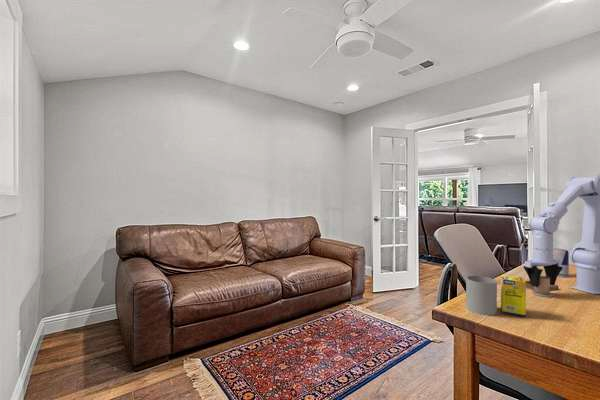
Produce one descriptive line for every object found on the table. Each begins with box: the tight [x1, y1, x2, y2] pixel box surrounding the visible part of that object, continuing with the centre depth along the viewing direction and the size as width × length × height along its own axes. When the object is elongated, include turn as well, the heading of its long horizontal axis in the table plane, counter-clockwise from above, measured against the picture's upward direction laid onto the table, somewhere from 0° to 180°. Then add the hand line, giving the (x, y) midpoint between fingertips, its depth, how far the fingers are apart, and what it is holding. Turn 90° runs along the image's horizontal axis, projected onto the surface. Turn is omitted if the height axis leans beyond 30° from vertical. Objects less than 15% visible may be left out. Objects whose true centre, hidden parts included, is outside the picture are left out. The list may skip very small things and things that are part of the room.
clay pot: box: [533, 275, 551, 295], centre depth 106 cm, size 4×4×6 cm
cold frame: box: [525, 279, 559, 291], centre depth 114 cm, size 10×8×2 cm
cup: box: [465, 275, 498, 316], centre depth 92 cm, size 8×8×10 cm
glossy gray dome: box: [531, 290, 555, 298], centre depth 105 cm, size 6×6×1 cm
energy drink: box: [553, 248, 570, 278], centre depth 130 cm, size 5×5×12 cm
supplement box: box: [500, 274, 527, 318], centre depth 90 cm, size 6×6×11 cm
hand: (542, 285), depth 105 cm, fingers open, 7 cm apart
